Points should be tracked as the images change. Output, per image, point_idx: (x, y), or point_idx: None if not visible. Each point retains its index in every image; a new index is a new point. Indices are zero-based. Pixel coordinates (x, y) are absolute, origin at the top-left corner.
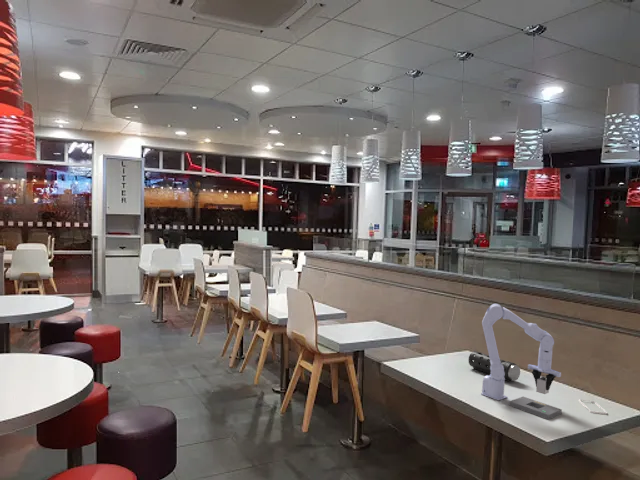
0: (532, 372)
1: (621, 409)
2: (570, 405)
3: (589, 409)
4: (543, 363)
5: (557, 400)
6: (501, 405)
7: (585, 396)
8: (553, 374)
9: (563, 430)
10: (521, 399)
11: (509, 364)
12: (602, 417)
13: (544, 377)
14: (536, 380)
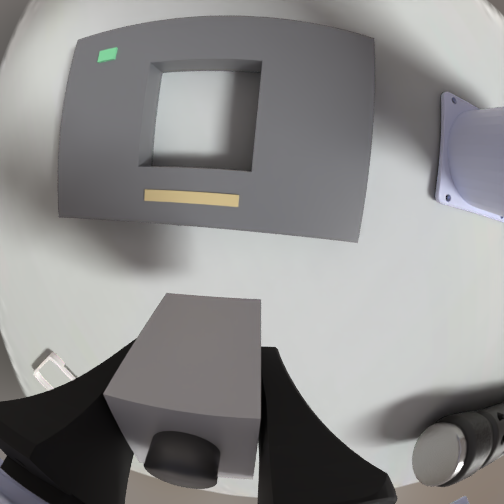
0: (384, 491)
1: None
2: None
3: (60, 368)
4: None
5: None
6: (386, 23)
7: None
8: (12, 480)
9: (34, 24)
10: (339, 150)
11: (471, 466)
12: (18, 328)
13: (166, 474)
14: (275, 399)
